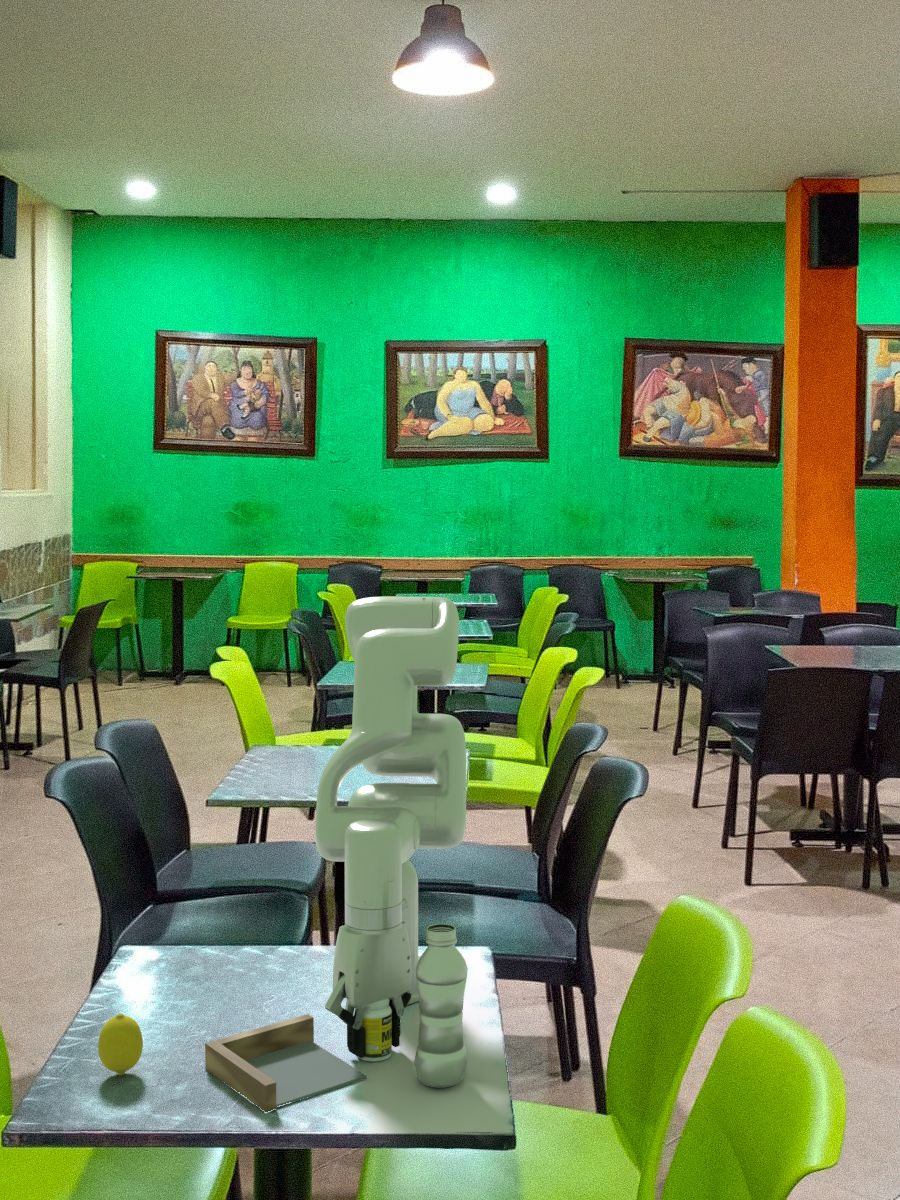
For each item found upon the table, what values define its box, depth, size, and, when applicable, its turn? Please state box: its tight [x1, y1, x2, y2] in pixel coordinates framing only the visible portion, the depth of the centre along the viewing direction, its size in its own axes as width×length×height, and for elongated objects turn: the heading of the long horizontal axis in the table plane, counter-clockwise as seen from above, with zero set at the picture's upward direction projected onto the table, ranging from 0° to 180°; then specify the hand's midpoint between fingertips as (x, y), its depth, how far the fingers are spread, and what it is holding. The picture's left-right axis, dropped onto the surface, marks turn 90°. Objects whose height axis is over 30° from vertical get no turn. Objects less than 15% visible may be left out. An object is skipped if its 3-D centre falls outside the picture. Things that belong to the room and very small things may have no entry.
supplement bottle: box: [357, 999, 393, 1062], centre depth 172 cm, size 5×5×8 cm
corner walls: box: [204, 1014, 315, 1112], centre depth 166 cm, size 16×16×4 cm
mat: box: [245, 1041, 368, 1106], centre depth 166 cm, size 14×14×1 cm
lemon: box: [97, 1013, 144, 1076], centre depth 166 cm, size 6×6×8 cm
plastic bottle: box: [414, 923, 468, 1089], centre depth 163 cm, size 6×7×20 cm
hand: (374, 1047), depth 172 cm, fingers closed on supplement bottle, 4 cm apart
